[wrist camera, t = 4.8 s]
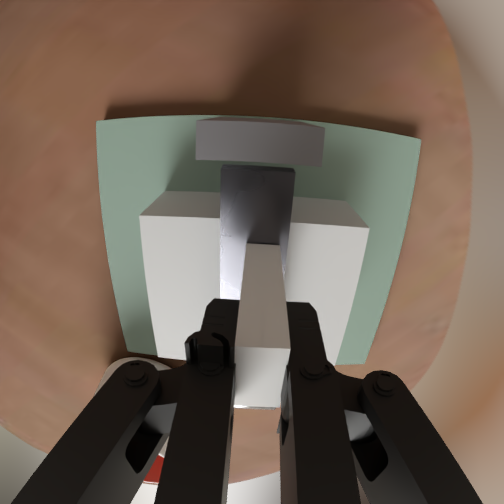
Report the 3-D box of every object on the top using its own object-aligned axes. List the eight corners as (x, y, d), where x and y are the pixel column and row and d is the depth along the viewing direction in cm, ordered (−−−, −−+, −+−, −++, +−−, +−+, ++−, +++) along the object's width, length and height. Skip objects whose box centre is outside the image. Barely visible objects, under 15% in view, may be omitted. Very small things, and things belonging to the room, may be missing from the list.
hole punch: (131, 343, 28) (101, 412, 20) (103, 119, 19) (28, 133, 11) (361, 355, 28) (384, 426, 20) (413, 137, 19) (487, 159, 11)
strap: (214, 396, 21) (212, 409, 20) (207, 162, 13) (202, 169, 12) (274, 399, 21) (274, 412, 20) (309, 168, 13) (313, 175, 12)
